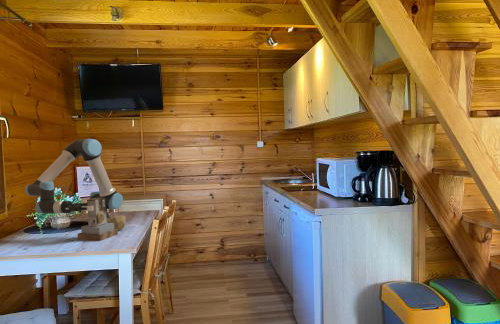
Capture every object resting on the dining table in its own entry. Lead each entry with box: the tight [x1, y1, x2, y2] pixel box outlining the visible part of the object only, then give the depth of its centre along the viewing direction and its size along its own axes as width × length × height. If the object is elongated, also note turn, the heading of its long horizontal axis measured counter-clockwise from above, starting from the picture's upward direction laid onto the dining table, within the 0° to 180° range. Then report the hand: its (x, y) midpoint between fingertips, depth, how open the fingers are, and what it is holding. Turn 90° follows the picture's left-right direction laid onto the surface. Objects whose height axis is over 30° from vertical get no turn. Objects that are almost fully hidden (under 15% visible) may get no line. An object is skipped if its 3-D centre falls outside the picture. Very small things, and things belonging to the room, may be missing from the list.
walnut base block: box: [77, 229, 119, 242], centre depth 215 cm, size 16×16×4 cm
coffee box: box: [86, 197, 107, 226], centre depth 215 cm, size 9×6×16 cm
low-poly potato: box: [107, 215, 126, 232], centre depth 233 cm, size 15×11×12 cm
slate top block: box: [80, 223, 114, 234], centre depth 215 cm, size 13×13×4 cm
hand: (98, 206), depth 215 cm, fingers open, 13 cm apart
